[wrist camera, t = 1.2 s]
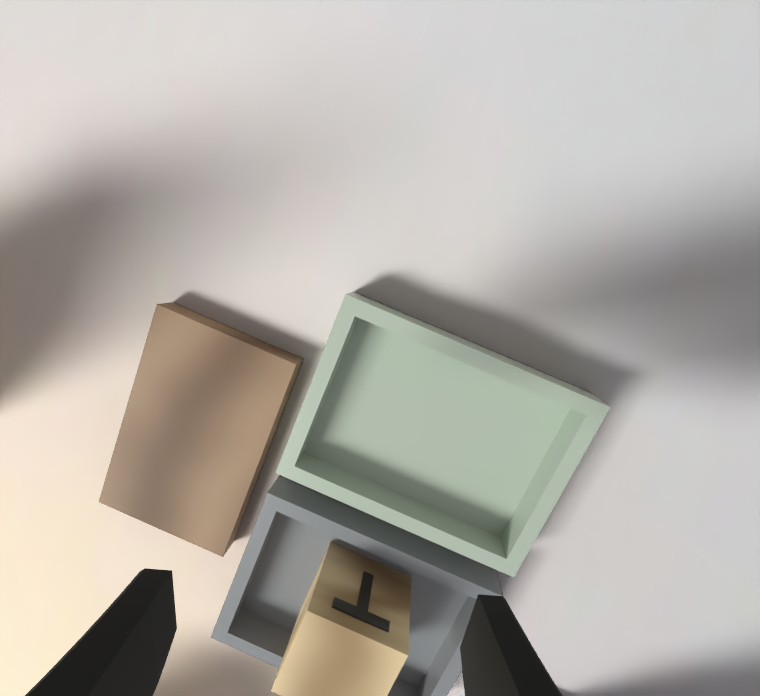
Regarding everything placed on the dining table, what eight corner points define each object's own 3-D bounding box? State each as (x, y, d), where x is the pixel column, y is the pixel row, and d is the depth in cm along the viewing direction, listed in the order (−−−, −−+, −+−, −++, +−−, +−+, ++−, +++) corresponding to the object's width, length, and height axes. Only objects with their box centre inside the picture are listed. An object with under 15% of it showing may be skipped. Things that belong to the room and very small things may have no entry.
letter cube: (412, 575, 22) (409, 653, 17) (377, 643, 22) (366, 734, 18) (331, 539, 22) (307, 608, 17) (300, 609, 23) (270, 691, 18)
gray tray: (496, 566, 21) (503, 596, 19) (425, 695, 23) (425, 733, 21) (281, 472, 22) (267, 492, 20) (228, 606, 24) (210, 637, 22)
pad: (303, 359, 20) (296, 364, 19) (233, 542, 23) (222, 556, 22) (172, 302, 21) (156, 304, 19) (115, 489, 23) (98, 501, 22)
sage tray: (591, 393, 19) (610, 407, 17) (505, 549, 21) (514, 577, 19) (353, 291, 20) (345, 294, 18) (288, 454, 21) (275, 473, 19)
